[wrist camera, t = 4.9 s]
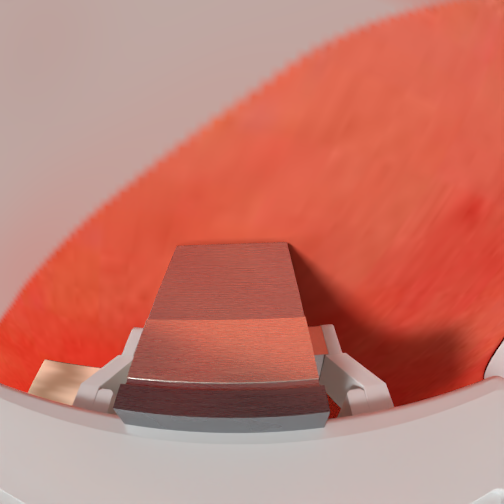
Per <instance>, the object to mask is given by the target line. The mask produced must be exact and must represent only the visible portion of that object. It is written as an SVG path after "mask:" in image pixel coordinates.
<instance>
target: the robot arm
mask: <svg viewBox="0 0 504 504" xmlns="http://www.w3.org/2000/svg"><path fill="white" fill-rule="evenodd" d="M143 329H144V328H136V327H134V328H133V329H132V330H131V333H130V335H129V338H128V340H127V343H126V345H125V348H124V351H123V353H122V355H118V356H117V357H115V358H114V359H113V360H111V361H110V362H109V363H108V364H106V365H105V366H104V367H102V368H101V369H100V370H98V371H97V372H96V373H94V374H93V375H92V376H91V377H89V378H88V379H87V380H85V381H84V382H83V383H81V385H80V387H79V390H78V392H77V395H76V397H75V400H74V402H73V405H72V406H71V405H67V404H63V403H59V402H56V401H52V400H49V399H45V398H42V397H38V396H35V395H32V394H29V393H26V392H23V391H20V390H17V389H14V388H11V387H9V386H6V385H3V384H1V383H0V504H504V341H503V342H502V344H501V345H500V347H499V348H498V350H497V351H496V353H495V354H494V356H493V357H492V359H491V361H490V363H489V365H488V367H487V369H486V372H485V375H484V380H482V381H479V382H476V383H474V384H471V385H468V386H465V387H463V388H460V389H457V390H454V391H451V392H448V393H445V394H441V395H438V396H435V397H432V398H428V399H425V400H421V401H417V402H413V403H409V404H405V405H401V406H397V407H394V405H393V402H392V399H391V397H390V394H389V391H388V388H387V385H386V383H384V382H383V381H382V380H381V379H379V378H378V377H377V376H375V375H374V374H373V373H371V372H370V371H369V370H367V369H366V368H365V367H364V366H362V365H361V364H360V363H358V362H357V361H356V360H355V359H353V358H352V357H351V356H349V355H348V354H347V353H342V350H341V347H340V344H339V341H338V338H337V335H336V331H335V328H334V326H333V325H332V324H327V325H316V326H308V330H309V334H310V339H311V343H312V348H313V352H314V357H315V362H316V366H317V371H318V376H319V385H320V386H322V385H325V390H326V393H327V394H328V395H329V396H330V397H331V398H332V399H333V400H334V402H335V403H336V404H337V405H338V406H339V407H340V408H341V410H340V412H339V415H338V417H337V418H331V419H327V421H326V424H325V427H324V428H315V429H306V430H296V431H282V432H264V433H208V432H189V431H176V430H165V429H156V428H148V427H141V426H134V425H127V424H124V423H123V421H122V420H121V419H120V417H119V416H118V415H117V413H116V412H115V410H114V409H113V406H114V403H115V399H116V396H117V393H118V390H119V387H120V384H126V382H127V379H128V378H127V375H128V372H129V369H130V366H131V363H132V360H133V357H134V355H135V352H136V349H137V346H138V343H139V340H140V337H141V335H142V332H143Z"/></svg>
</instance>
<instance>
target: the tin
mask: <svg viewBox="0 0 504 504" xmlns="http://www.w3.org/2000/svg"><path fill="white" fill-rule="evenodd" d="M127 378H128V379H127V382H126V384H120V387H119V390H118V393H117V396H116V399H115V403H114V406H113V409H114V410H115V412H116V413H117V415H118V416H119V417H120V419H121V420H122V421H123V423H124V424H127V425H134V426H141V427H148V428H156V429H165V430H176V431H189V432H208V433H264V432H282V431H296V430H306V429H315V428H324V427H325V424H326V421H327V419H328V416H329V414H330V409H329V404H328V399H327V394H326V390H325V385H322V386H320V385H319V376H318V371H317V366H316V362H315V357H314V352H313V348H312V343H311V339H310V334H309V330H308V325H307V321H306V317H305V316H304V311H303V307H302V303H301V298H300V294H299V290H298V286H297V282H296V277H295V273H294V269H293V265H292V261H291V257H290V253H289V249H288V245H287V242H281V243H248V244H218V245H189V246H177V247H176V249H175V252H174V254H173V257H172V259H171V261H170V264H169V266H168V269H167V271H166V274H165V276H164V279H163V281H162V284H161V286H160V289H159V291H158V294H157V297H156V299H155V302H154V304H153V307H152V310H151V312H150V315H149V318H148V319H147V321H146V324H145V326H144V329H143V332H142V335H141V337H140V340H139V343H138V346H137V349H136V352H135V355H134V357H133V360H132V363H131V366H130V369H129V372H128V375H127Z"/></svg>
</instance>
